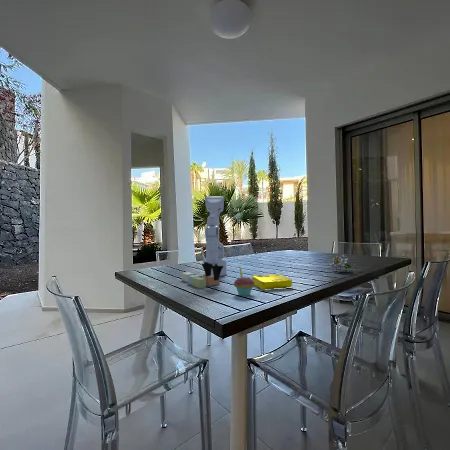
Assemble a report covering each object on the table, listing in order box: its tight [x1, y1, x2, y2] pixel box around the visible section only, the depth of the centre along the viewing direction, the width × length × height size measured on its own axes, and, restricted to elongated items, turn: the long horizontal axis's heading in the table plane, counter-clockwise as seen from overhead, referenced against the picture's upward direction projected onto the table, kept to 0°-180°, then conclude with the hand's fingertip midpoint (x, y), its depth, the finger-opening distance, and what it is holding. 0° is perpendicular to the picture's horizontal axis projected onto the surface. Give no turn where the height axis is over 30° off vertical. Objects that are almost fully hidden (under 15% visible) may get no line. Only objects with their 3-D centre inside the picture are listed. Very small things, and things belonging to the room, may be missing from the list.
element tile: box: [251, 273, 293, 290], centre depth 138 cm, size 15×15×5 cm
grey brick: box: [181, 271, 195, 283], centre depth 150 cm, size 6×4×4 cm, turn 34°
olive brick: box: [192, 277, 207, 289], centre depth 138 cm, size 6×4×4 cm, turn 40°
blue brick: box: [187, 274, 203, 286], centre depth 144 cm, size 6×4×4 cm, turn 134°
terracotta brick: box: [205, 275, 221, 287], centre depth 142 cm, size 6×4×4 cm, turn 123°
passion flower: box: [329, 254, 355, 270], centre depth 175 cm, size 11×11×12 cm
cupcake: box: [233, 267, 256, 297], centre depth 123 cm, size 9×8×12 cm
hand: (212, 279), depth 142 cm, fingers open, 7 cm apart
